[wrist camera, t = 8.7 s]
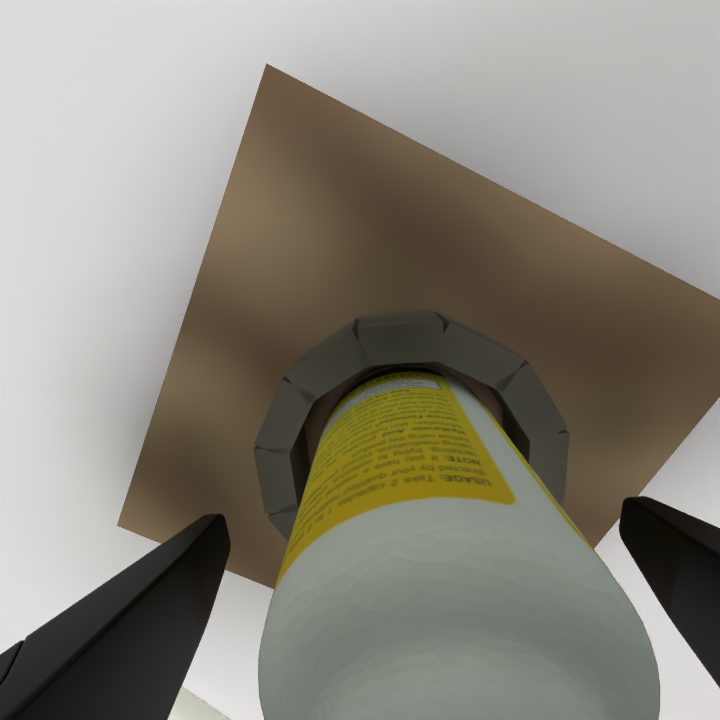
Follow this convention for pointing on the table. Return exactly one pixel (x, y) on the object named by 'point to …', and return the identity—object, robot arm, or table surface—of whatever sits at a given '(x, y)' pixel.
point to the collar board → (393, 256)
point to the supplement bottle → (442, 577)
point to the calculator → (193, 708)
